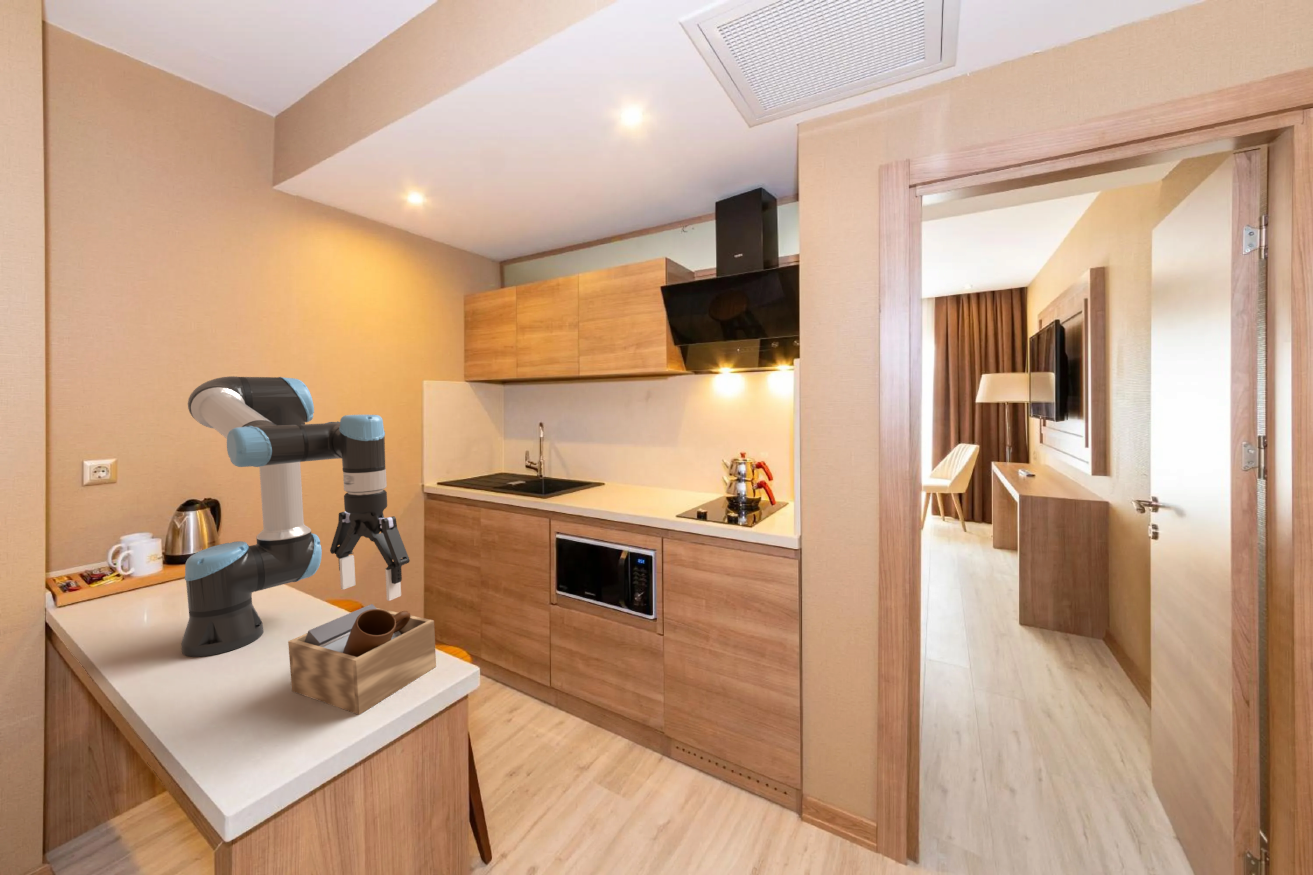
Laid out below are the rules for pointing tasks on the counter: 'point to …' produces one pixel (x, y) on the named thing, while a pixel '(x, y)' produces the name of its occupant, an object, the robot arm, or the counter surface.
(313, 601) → the counter surface
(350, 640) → the mug
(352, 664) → the trapdoor frame
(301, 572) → the robot arm
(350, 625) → the trapdoor
